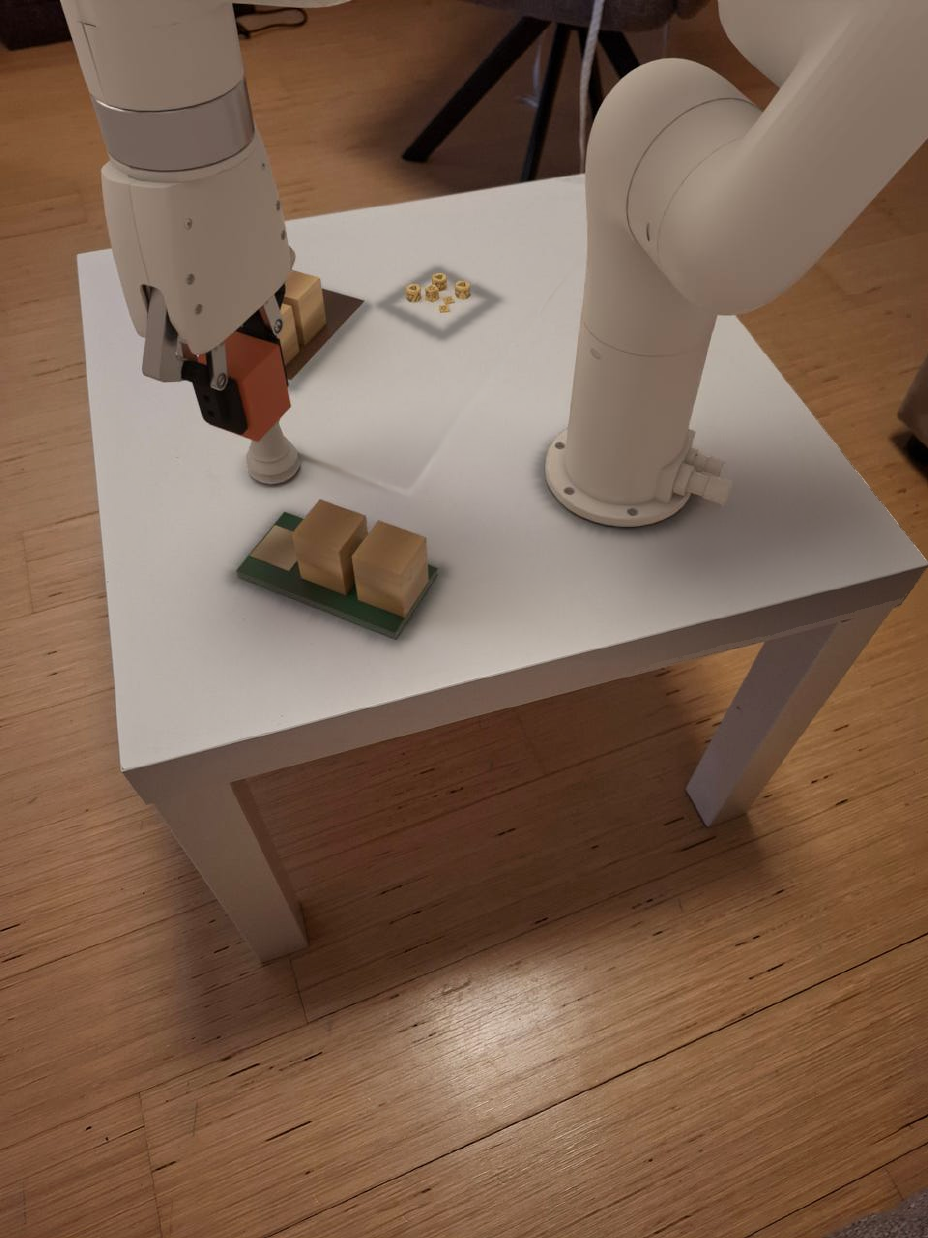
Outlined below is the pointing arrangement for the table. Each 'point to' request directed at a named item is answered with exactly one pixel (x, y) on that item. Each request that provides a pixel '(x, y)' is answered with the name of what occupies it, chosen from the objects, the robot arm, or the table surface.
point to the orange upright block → (256, 381)
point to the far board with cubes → (310, 318)
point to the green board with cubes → (344, 566)
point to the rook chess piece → (272, 457)
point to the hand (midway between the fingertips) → (246, 402)
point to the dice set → (433, 291)
